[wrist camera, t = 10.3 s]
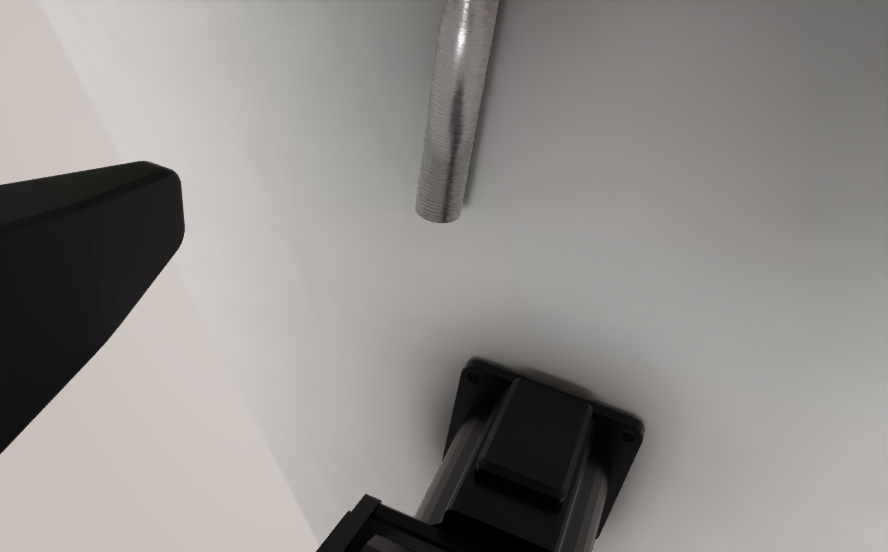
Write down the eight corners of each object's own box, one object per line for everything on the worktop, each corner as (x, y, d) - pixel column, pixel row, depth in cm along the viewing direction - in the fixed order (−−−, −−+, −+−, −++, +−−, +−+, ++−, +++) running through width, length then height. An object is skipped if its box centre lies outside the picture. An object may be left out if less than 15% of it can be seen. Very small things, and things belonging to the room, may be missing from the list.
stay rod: (467, 206, 23) (451, 227, 22) (425, 192, 23) (407, 213, 22) (535, -161, 17) (518, -156, 16) (478, -173, 17) (457, -169, 16)
